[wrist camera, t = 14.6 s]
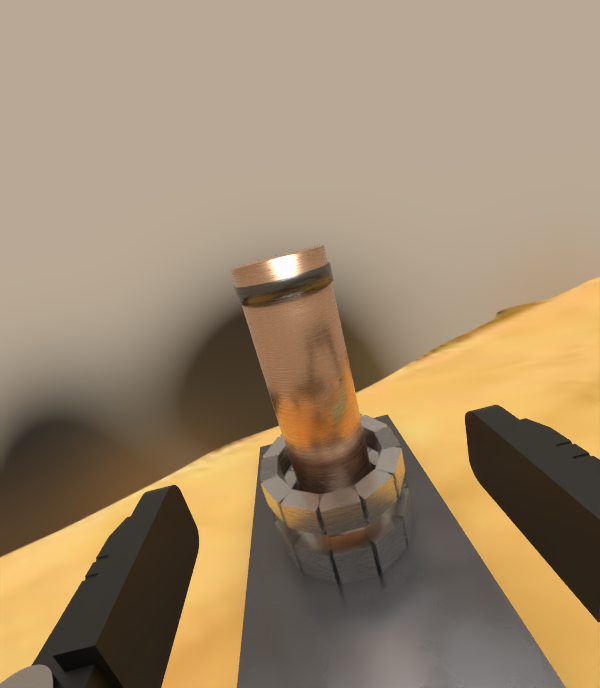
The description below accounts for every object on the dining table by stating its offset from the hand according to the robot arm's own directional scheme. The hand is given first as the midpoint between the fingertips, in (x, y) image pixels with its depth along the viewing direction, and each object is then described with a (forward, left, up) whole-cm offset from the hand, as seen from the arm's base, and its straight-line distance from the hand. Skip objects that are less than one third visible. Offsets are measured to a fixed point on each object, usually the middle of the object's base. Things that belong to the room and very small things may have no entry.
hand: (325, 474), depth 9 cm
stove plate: (0, -8, -11) cm, 14 cm away
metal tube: (0, -8, -10) cm, 13 cm away
